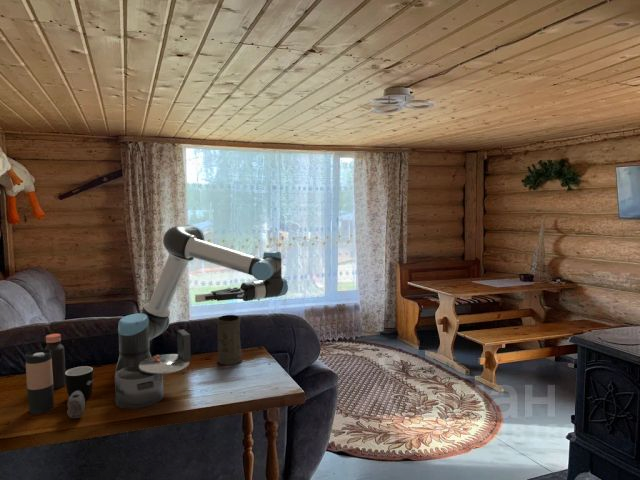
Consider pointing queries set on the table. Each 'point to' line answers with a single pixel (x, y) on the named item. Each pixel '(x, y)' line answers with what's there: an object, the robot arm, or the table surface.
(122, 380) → the cooker pot
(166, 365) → the lid
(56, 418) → the table surface
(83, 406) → the perforated stone tool
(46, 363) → the travel mug
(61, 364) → the bottle
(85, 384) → the mug
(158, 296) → the robot arm
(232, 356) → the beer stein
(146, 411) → the table surface
